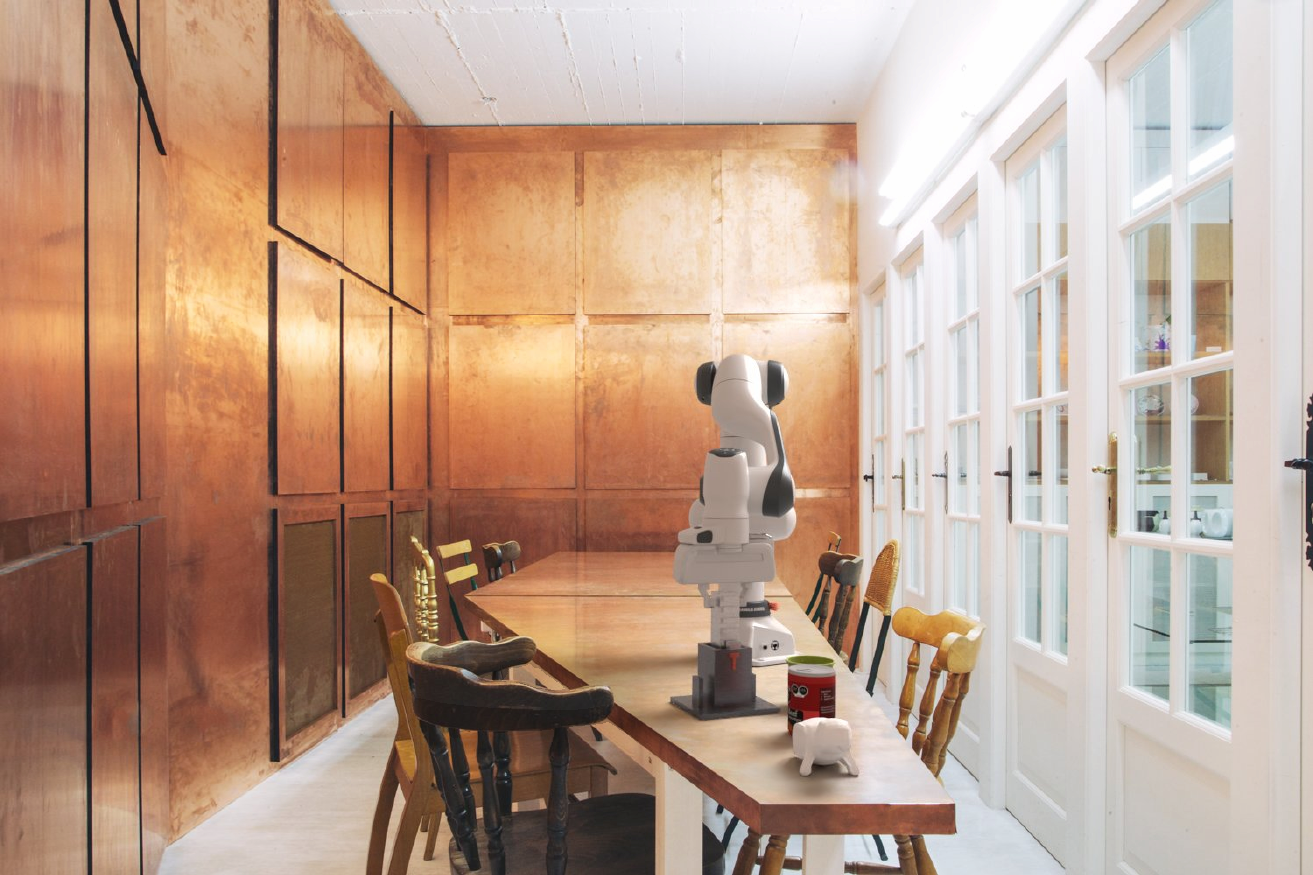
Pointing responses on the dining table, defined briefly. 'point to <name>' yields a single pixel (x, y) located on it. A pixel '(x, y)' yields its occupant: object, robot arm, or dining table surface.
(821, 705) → the canned food
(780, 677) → the dining table surface
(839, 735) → the white molar tooth
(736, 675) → the stand
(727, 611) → the column
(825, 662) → the plant pot
